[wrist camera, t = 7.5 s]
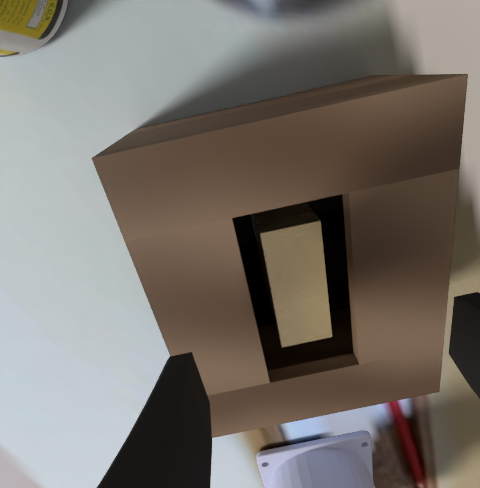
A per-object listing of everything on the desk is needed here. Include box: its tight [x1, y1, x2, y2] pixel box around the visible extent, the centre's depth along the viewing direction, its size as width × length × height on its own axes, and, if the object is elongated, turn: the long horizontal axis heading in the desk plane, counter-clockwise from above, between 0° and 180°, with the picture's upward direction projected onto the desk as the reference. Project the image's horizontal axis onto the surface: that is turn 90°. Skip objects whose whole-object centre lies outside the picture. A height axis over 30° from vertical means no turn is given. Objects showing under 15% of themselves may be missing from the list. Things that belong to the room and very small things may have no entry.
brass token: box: [251, 202, 332, 347], centre depth 14 cm, size 5×2×5 cm, turn 11°
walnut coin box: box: [92, 74, 468, 438], centre depth 14 cm, size 12×10×6 cm
